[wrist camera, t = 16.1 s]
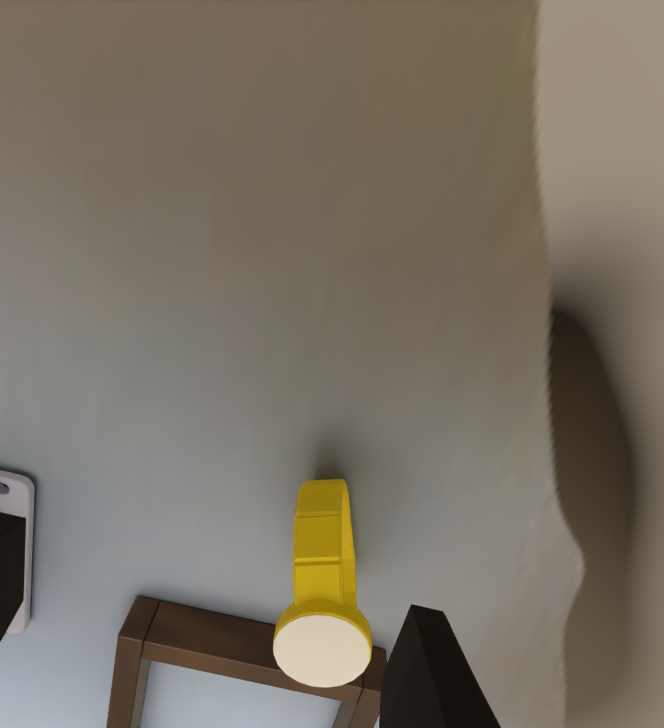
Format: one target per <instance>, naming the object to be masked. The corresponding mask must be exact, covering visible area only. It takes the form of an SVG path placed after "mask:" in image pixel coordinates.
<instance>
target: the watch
mask: <svg viewBox="0 0 664 728" xmlns="http://www.w3.org/2000/svg"><path fill="white" fill-rule="evenodd" d="M295 517H296V519H295V525H294V547H293V561H294V563H295V564H294V565H293V585H294V604H292V605H290V606H289V607H288V608H287V609H286V610H285V611H284V612H283V613H282V614H281V616H280V618H279V620H278V622H277V624H276V629H275V634H274V639H273V654H274V656H275V659H276V662H277V664H278V666H279V667H280V668H281V669H282V670H283V671H284V672H285V674H286V675H288V676H290V677H291V678H293V679H294V680H296V681H297V682H300V683H303V684H306V685H309V686H314V687H324V688H327V687H335V686H341V685H343V684H346V683H348V682H351V681H353V680H354V679H356V678H357V677H358V676H359V675H360V674H362V673H363V672H364V670H365V669H366V667H367V665H368V664H369V662H370V660H371V652H372V633H371V629H370V626H369V623H368V621H367V620H366V618H365V617H364V616H363V614H362V613H361V612H360V611H359V610H358V609H357V595H356V592H357V591H356V569H355V551H354V545H353V534H352V524H351V513H350V503H349V492H348V488H347V485H346V482H345V481H344V480H343V479H327V480H308V481H307V482H306V483H305V484H304V485H303V486H302V487H301V488H300V491H299V496H298V502H297V507H296V513H295Z"/></svg>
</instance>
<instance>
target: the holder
mask: <svg viewBox="0 0 664 728" xmlns="http://www.w3.org/2000/svg"><path fill="white" fill-rule="evenodd" d="M275 629H276V626H273V625H269V624H264V623H260V622H255V621H250V620H246V619H241V618H237V617H232V616H228V615H223V614H219V613H214V612H210V611H205V610H200V609H196V608H191V607H187V606H182V605H178V604H173V603H169V602H164V601H161V602H159V601H158V600H154V599H150V598H145V597H141V596H137V597H136V598H135V600H134V603H133V605H132V607H131V609H130V611H129V613H128V615H127V617H126V619H125V622H124V624H123V626H122V628H121V630H120V632H119V634H118V640H117V648H116V656H115V664H114V672H113V680H112V688H111V695H110V703H109V711H108V719H107V727H106V728H139V727H140V721H141V715H142V709H143V703H144V697H145V691H146V684H147V678H148V672H149V666H150V660H153V661H158V662H162V663H167V664H172V665H176V666H181V667H186V668H190V669H195V670H200V671H204V672H209V673H214V674H218V675H223V676H228V677H232V678H237V679H242V680H246V681H251V682H256V683H260V684H265V685H270V686H274V687H279V688H284V689H288V690H293V691H298V692H302V693H307V694H312V695H316V696H321V697H326V698H330V699H335V700H340V701H342V704H341V707H340V709H339V712H338V715H337V717H336V720H335V723H334V725H333V728H374V725H375V723H376V721H377V718H378V716H379V714H380V695H381V678H382V675H383V673H384V670H385V668H386V665H387V659H386V650H384V649H379V648H374V647H372V652H371V660H370V662H369V664H368V665H367V667H366V669H365V670H364V672H363V673H362V674H360V675H359V676H358V677H357V678H356V679H354V680H353V681H351V682H348V683H346V684H343V685H341V686H335V687H327V688H324V687H314V686H309V685H306V684H303V683H300V682H297V681H296V680H294V679H293V678H291V677H290V676H288V675H286V674H285V672H284V671H283V670H282V669H281V668H280V667H279V666H278V664H277V662H276V659H275V656H274V654H273V639H274V634H275Z"/></svg>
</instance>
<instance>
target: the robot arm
mask: <svg viewBox="0 0 664 728" xmlns="http://www.w3.org/2000/svg"><path fill="white" fill-rule="evenodd" d="M2 483H4V484H6V485H7V486H8V487H9V488H7V487H5V486H4V485H3V484H2ZM34 491H35V489H34V484H33V483H32V481H31V480H30V479H28V478H27V477H25V476H22V475H19V474H14V473H10V472H6V471H1V470H0V641H1V640H2V638H3V636H4V635H5V633H9V634H22V633H23V632H24V631H25V630H26V628H27V627H28V625H29V623H30V598H31V571H32V544H33V518H34ZM379 728H501V727H500V725H499V723H498V721H497V719H496V717H495V715H494V714H493V712H492V710H491V708H490V706H489V704H488V702H487V700H486V698H485V696H484V694H483V692H482V690H481V688H480V686H479V684H478V682H477V680H476V678H475V676H474V674H473V672H472V670H471V668H470V666H469V664H468V662H467V660H466V658H465V656H464V654H463V652H462V650H461V647H460V645H459V643H458V641H457V639H456V637H455V635H454V633H453V630H452V628H451V626H450V624H449V622H448V620H447V618H446V616H445V614H444V613H443V611H439V610H434V609H430V608H426V607H421V606H417V605H412V604H411V606H410V609H409V611H408V614H407V616H406V619H405V621H404V624H403V626H402V628H401V631H400V633H399V636H398V638H397V641H396V643H395V646H394V648H393V651H392V653H391V655H390V658H389V660H388V663H387V665H386V668H385V670H384V673H383V675H382V678H381V695H380V718H379Z"/></svg>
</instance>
